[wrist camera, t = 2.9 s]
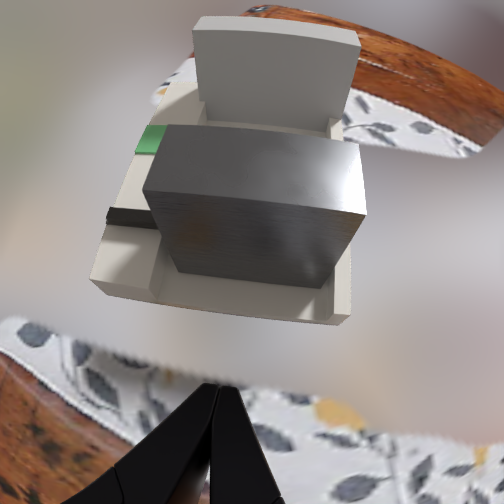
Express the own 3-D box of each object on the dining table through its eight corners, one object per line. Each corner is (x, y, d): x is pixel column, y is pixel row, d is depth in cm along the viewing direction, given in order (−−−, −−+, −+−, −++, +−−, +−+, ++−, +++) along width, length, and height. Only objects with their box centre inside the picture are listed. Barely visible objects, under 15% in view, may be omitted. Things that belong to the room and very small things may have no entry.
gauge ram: (320, 288, 20) (366, 214, 12) (115, 263, 20) (56, 185, 12) (321, 233, 21) (358, 143, 14) (131, 213, 22) (89, 125, 14)
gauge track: (338, 325, 20) (409, 260, 11) (107, 295, 20) (27, 217, 11) (333, 120, 28) (355, 31, 19) (175, 106, 29) (160, 18, 20)
